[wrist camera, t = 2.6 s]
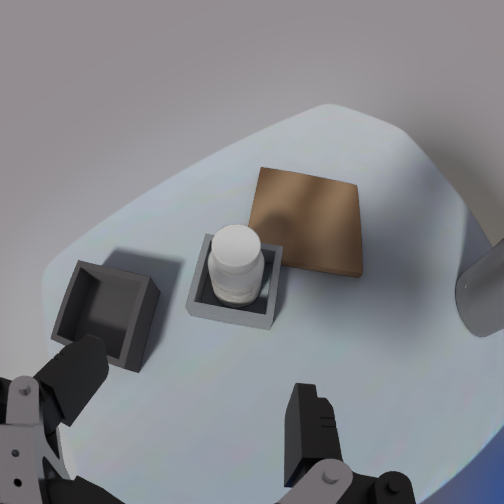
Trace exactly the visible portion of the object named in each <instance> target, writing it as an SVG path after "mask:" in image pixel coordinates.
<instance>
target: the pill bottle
mask: <svg viewBox="0 0 504 504" xmlns="http://www.w3.org/2000/svg"><path fill="white" fill-rule="evenodd" d="M208 269H209V274H210V278H211V282H212V286H213V290H214V293H215V295H216V297H217V299H218V300H219V301H220V302H221V303H223V304H224V305H226V306H229V307H232V308H241V307H245V306H248V305H249V304H251V303H252V302H253V301H254V300H255V299H256V298H257V296H258V295H259V292H260V287H261V282H262V276H263V271H264V257H263V254H262V252H261V243H260V239H259V237H258V235H257V234H256V232H255V231H253V230H252V229H251V228H249V227H247V226H244V225H239V224H233V225H229V226H226V227H224V228H222V229H220V230H219V231H218V232H217V233H216V234H215V236H214V238H213V240H212V251H211V252H210V255H209V258H208Z"/></svg>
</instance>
